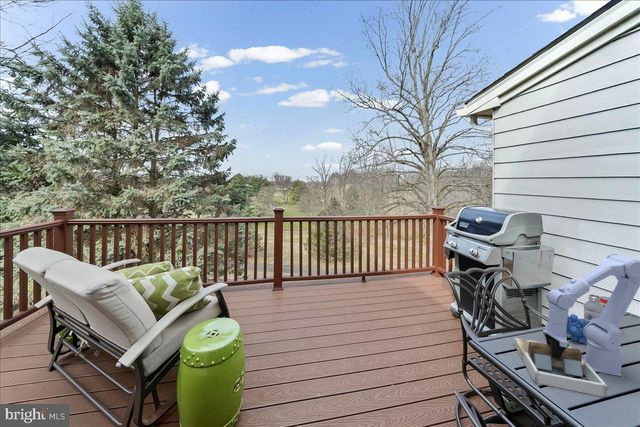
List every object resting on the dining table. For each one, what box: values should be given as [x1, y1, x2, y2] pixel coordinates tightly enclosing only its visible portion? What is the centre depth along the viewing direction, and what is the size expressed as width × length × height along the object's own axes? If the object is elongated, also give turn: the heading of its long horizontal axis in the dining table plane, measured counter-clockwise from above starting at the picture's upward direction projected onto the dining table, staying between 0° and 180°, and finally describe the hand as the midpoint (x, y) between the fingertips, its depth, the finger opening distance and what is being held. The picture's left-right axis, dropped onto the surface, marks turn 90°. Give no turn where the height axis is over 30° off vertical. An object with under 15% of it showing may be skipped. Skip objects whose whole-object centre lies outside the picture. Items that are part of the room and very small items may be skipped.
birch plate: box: [513, 337, 584, 373], centre depth 119 cm, size 20×13×3 cm, turn 70°
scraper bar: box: [528, 341, 583, 362], centre depth 113 cm, size 16×3×4 cm, turn 70°
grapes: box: [566, 313, 588, 344], centre depth 130 cm, size 12×7×12 cm, turn 36°
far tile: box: [533, 353, 553, 371], centre depth 112 cm, size 5×5×2 cm
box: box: [522, 352, 608, 398], centre depth 106 cm, size 20×13×4 cm, turn 70°
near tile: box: [562, 359, 584, 378], centre depth 109 cm, size 5×5×2 cm
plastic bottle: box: [583, 294, 603, 324], centre depth 133 cm, size 6×7×20 cm
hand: (553, 354), depth 113 cm, fingers open, 4 cm apart
